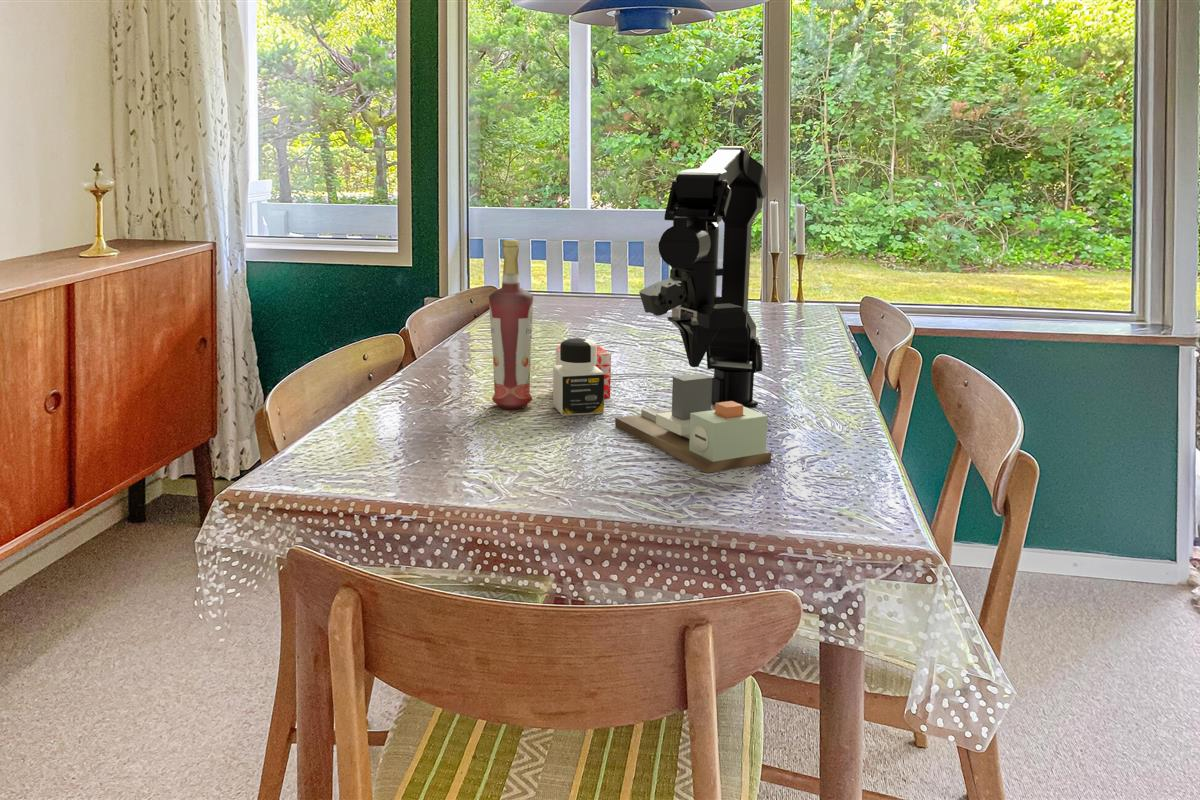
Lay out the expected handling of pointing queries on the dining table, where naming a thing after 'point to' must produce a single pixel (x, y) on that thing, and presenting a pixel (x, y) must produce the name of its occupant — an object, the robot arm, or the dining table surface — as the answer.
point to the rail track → (679, 443)
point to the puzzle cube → (598, 366)
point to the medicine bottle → (578, 379)
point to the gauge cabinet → (727, 435)
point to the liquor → (511, 334)
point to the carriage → (686, 402)
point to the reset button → (728, 409)
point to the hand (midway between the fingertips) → (694, 366)
